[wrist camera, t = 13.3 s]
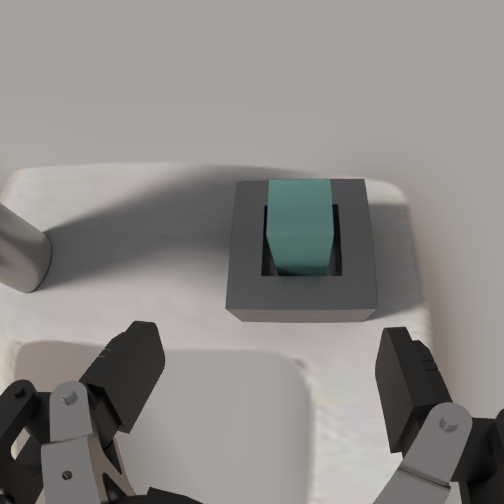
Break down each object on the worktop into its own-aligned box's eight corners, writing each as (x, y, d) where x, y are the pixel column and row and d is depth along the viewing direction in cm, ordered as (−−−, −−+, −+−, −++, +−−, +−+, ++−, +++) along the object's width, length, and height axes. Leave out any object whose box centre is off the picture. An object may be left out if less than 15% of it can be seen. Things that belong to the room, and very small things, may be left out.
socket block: (241, 321, 28) (225, 308, 22) (249, 214, 32) (236, 181, 26) (362, 321, 26) (377, 308, 20) (355, 212, 30) (364, 179, 24)
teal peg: (280, 282, 27) (266, 235, 18) (281, 241, 29) (268, 180, 20) (324, 282, 27) (333, 235, 17) (324, 241, 28) (330, 179, 19)
